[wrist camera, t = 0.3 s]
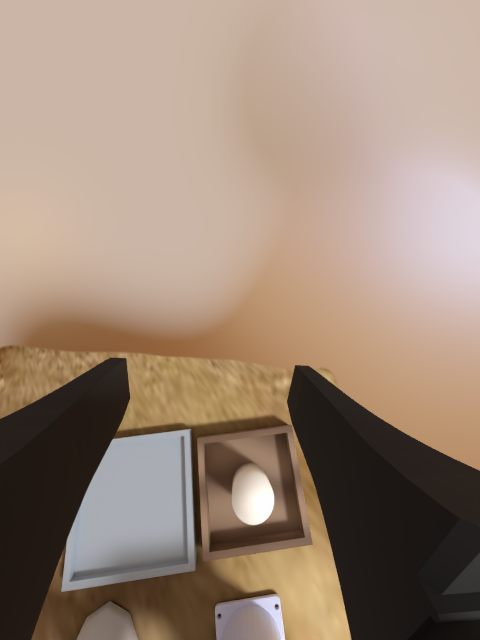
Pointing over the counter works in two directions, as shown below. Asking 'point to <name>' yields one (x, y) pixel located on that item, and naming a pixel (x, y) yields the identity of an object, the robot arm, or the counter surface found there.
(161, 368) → the counter surface
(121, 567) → the slate tray
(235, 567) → the counter surface
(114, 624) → the flask
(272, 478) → the brown square tray
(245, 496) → the cream cylinder
